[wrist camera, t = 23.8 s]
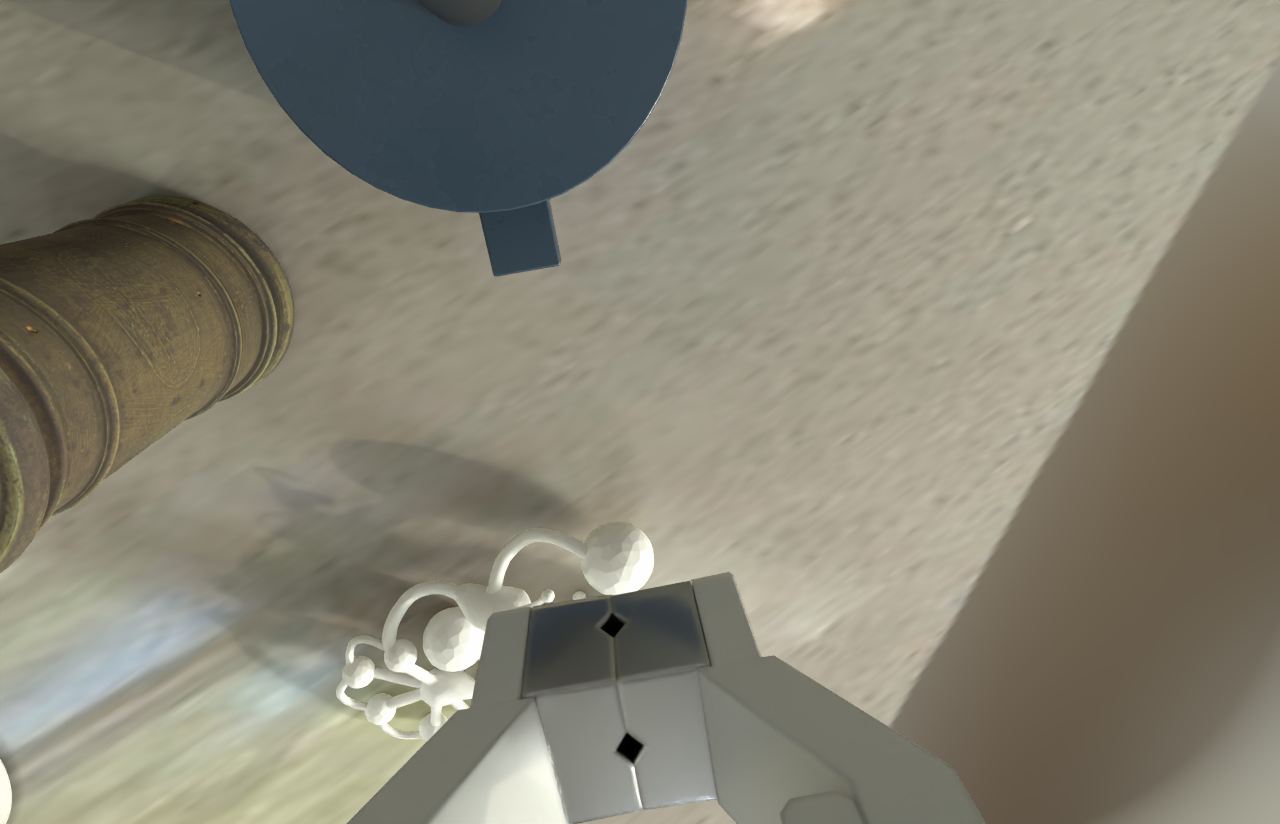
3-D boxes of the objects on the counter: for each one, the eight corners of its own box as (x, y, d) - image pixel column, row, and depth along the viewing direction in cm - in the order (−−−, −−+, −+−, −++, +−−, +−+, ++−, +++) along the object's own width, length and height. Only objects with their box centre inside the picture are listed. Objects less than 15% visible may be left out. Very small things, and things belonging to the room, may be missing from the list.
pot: (407, 260, 34) (346, 306, 25) (277, -214, 27) (133, -379, 18) (671, 215, 34) (703, 244, 25) (604, -266, 28) (617, -454, 19)
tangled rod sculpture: (420, 766, 46) (406, 828, 42) (294, 601, 40) (265, 657, 36) (711, 669, 44) (724, 725, 41) (629, 482, 38) (635, 528, 34)
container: (129, 157, 31) (-383, 186, 15) (330, 265, 34) (85, 397, 17) (63, 333, 34) (-441, 531, 17) (255, 422, 36) (-25, 676, 19)
